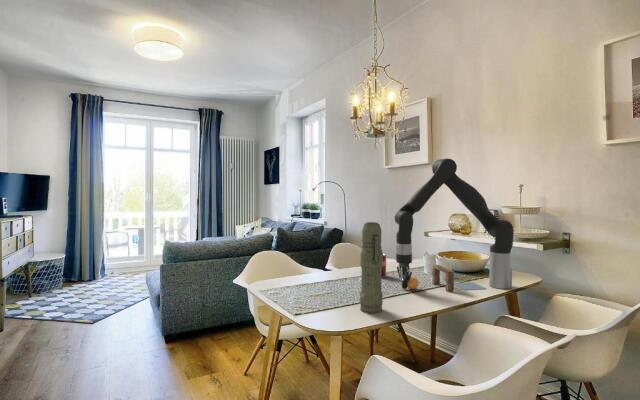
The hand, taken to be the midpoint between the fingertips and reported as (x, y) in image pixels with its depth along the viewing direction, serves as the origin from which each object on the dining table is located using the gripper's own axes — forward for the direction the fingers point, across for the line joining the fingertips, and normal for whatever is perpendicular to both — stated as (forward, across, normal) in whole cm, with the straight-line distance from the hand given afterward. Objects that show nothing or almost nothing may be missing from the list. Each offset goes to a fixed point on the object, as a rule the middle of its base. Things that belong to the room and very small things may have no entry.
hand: (404, 288), depth 172 cm
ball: (-2, 0, -4) cm, 5 cm away
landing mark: (+1, 0, -34) cm, 34 cm away
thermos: (0, -25, +25) cm, 35 cm away
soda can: (+1, +27, +3) cm, 27 cm away
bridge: (+1, 0, -20) cm, 20 cm away
